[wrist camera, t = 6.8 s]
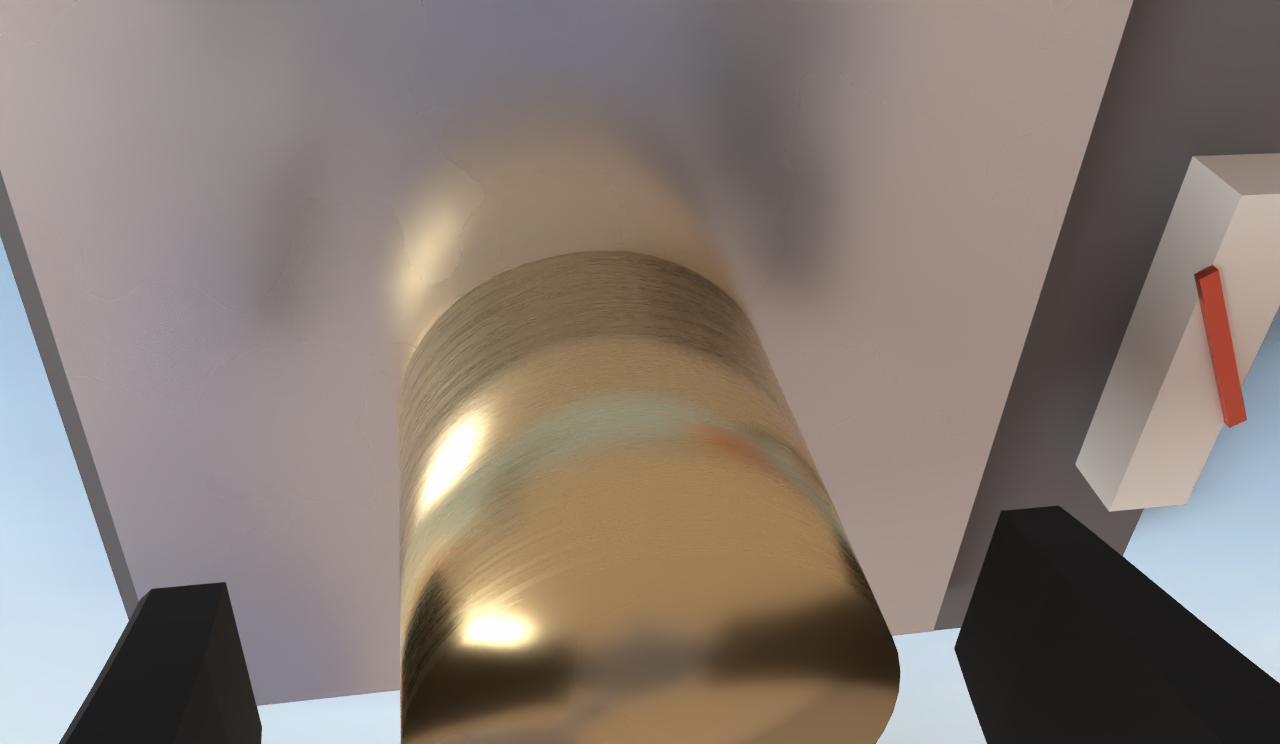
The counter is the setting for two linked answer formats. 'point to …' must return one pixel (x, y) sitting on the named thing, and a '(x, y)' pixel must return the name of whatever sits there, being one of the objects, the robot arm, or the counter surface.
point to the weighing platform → (522, 249)
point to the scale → (1077, 290)
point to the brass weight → (621, 526)
